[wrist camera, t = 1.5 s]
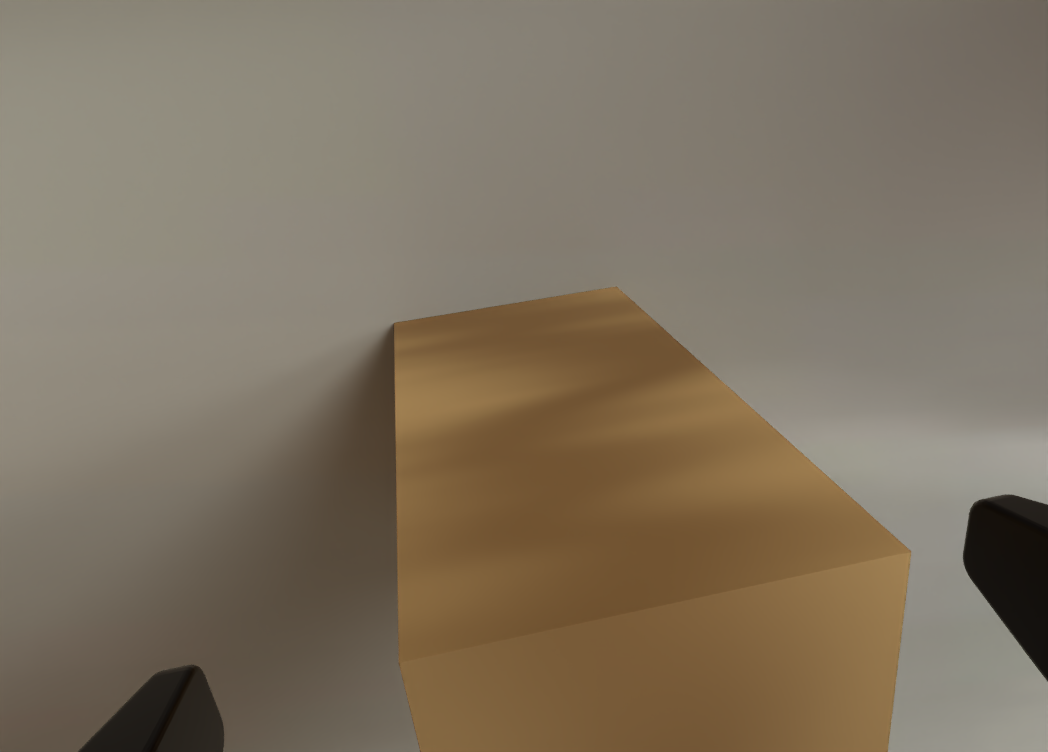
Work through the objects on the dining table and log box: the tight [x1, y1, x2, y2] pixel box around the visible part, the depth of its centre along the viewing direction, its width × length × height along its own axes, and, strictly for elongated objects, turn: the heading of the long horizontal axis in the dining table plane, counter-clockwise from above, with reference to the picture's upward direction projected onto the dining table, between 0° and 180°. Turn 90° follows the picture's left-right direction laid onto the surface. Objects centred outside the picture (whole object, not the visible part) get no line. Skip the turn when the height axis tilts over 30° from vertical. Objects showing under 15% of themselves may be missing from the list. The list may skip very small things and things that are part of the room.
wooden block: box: [394, 287, 911, 752], centre depth 10 cm, size 4×4×8 cm
